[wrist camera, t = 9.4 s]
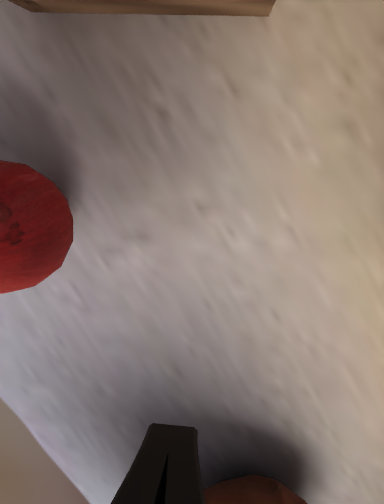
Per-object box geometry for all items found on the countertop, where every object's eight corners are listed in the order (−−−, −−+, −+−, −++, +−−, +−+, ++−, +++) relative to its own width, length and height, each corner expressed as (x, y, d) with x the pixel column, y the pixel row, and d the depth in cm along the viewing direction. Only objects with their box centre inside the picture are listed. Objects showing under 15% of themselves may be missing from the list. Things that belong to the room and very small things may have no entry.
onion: (-12, 145, 18) (-182, 170, 10) (96, 159, 17) (-1, 195, 10) (1, 247, 20) (-131, 326, 13) (96, 260, 20) (18, 350, 12)
